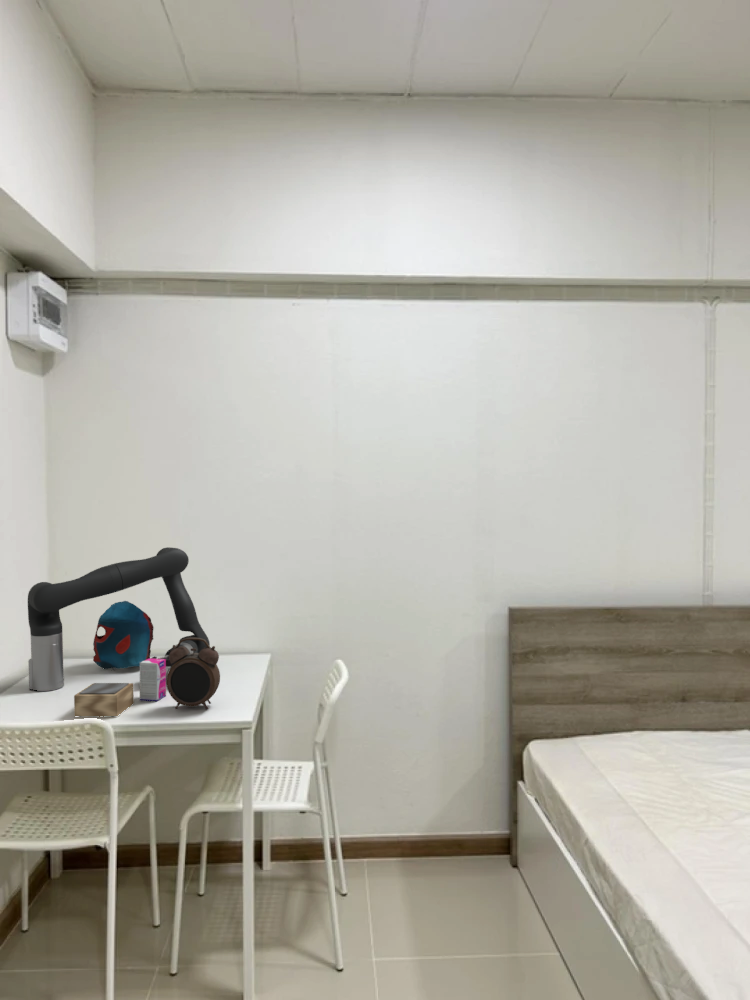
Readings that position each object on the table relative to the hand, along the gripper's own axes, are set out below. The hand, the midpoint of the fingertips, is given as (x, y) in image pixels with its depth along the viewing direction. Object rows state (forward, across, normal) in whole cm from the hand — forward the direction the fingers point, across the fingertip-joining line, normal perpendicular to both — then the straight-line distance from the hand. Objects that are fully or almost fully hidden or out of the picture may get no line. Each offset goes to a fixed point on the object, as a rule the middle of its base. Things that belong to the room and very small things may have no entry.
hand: (163, 668), depth 228 cm
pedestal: (+21, -10, +6) cm, 24 cm away
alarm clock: (+19, +15, +7) cm, 25 cm away
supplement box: (+10, 0, +7) cm, 12 cm away
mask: (-27, -23, +7) cm, 36 cm away
